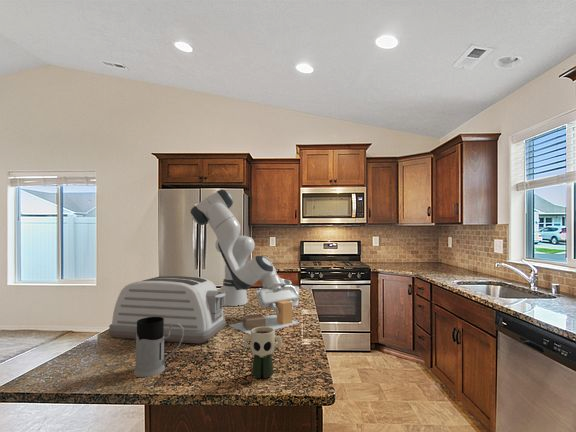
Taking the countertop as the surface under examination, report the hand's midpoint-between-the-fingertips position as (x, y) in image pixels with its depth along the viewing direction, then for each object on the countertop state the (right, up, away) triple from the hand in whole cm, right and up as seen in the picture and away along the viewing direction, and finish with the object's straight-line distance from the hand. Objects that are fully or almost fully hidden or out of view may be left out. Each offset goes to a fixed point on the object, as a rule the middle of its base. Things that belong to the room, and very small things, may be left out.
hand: (285, 311), depth 143 cm
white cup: (+4, -8, +38) cm, 39 cm away
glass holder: (-38, -4, -46) cm, 60 cm away
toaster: (-47, -6, -11) cm, 48 cm away
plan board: (-9, -6, -2) cm, 11 cm away
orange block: (0, -5, 0) cm, 5 cm away
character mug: (-6, -4, -50) cm, 50 cm away
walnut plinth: (-13, -5, -6) cm, 15 cm away
